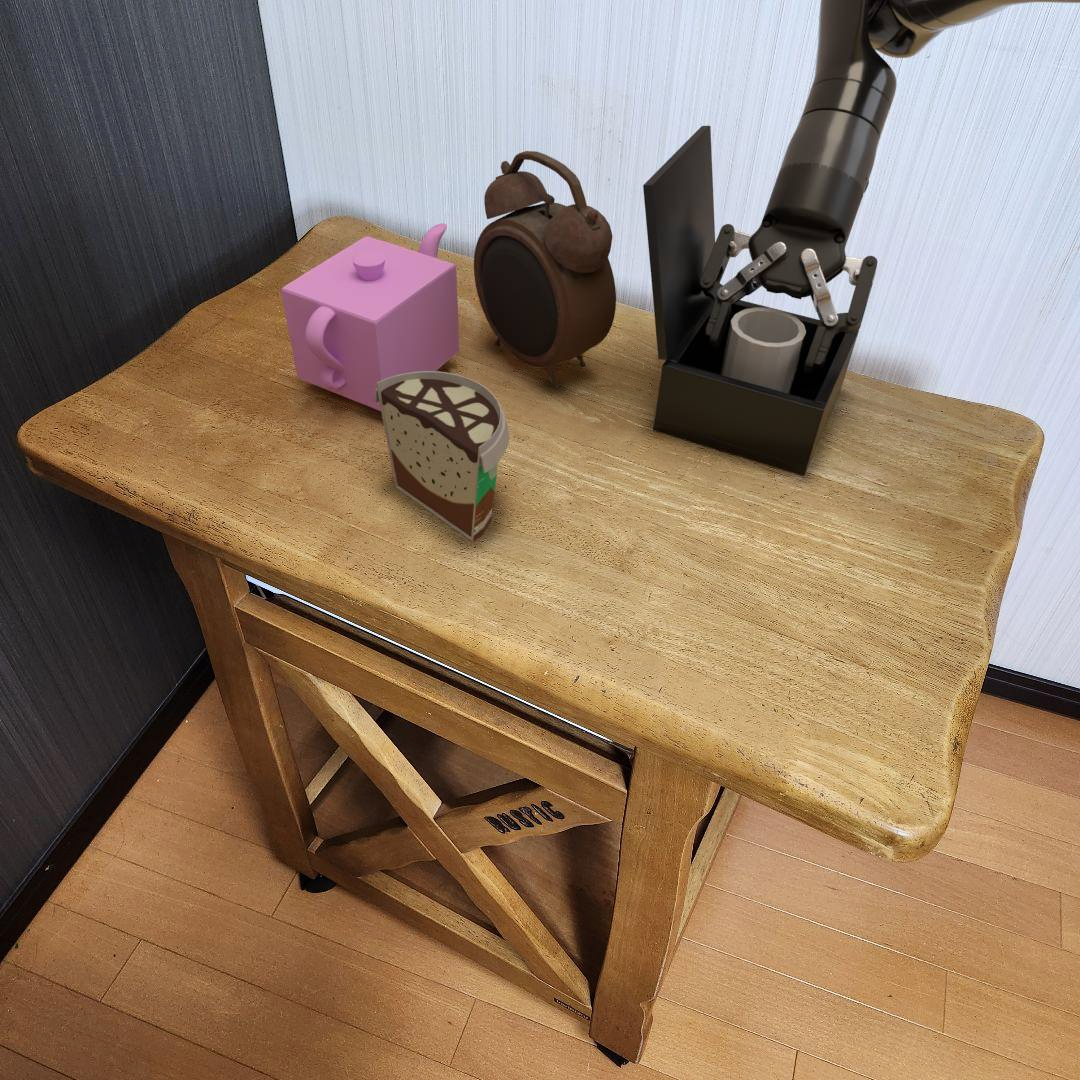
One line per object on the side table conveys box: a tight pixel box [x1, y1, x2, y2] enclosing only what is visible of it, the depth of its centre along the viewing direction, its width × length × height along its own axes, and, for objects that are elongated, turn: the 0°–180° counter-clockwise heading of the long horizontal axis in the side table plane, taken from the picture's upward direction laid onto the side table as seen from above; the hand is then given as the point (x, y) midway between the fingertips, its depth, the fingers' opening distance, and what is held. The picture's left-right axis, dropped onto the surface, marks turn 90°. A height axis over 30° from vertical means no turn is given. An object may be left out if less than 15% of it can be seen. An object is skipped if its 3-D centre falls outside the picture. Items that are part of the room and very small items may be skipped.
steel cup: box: [720, 307, 806, 394], centre depth 82 cm, size 6×6×8 cm
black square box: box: [652, 298, 860, 477], centre depth 83 cm, size 14×14×7 cm
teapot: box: [280, 222, 460, 412], centre depth 84 cm, size 20×10×13 cm, turn 150°
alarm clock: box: [473, 150, 617, 388], centre depth 83 cm, size 15×7×20 cm, turn 41°
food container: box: [375, 371, 510, 543], centre depth 72 cm, size 12×6×10 cm, turn 47°
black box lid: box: [642, 125, 716, 361], centre depth 78 cm, size 15×14×1 cm
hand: (760, 358), depth 80 cm, fingers open, 8 cm apart
